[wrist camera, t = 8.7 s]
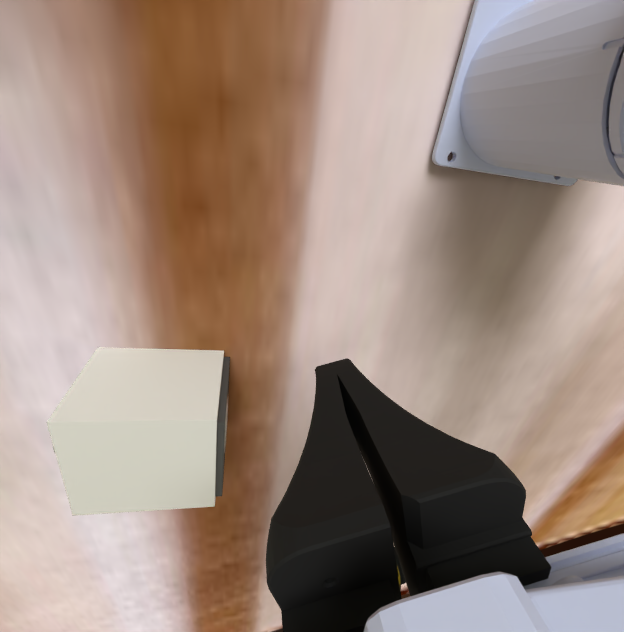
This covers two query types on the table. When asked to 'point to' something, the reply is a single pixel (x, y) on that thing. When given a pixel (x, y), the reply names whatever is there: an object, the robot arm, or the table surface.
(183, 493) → the white block
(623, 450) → the table surface
